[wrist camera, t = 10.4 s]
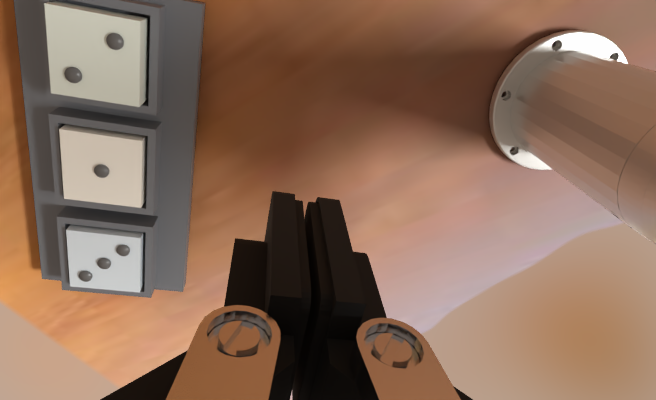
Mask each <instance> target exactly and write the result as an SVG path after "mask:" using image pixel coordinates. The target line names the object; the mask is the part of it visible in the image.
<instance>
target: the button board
mask: <svg viewBox="0 0 656 400" xmlns="http://www.w3.org/2000/svg"><path fill="white" fill-rule="evenodd" d="M55 1H60V2H65V3H70V4H76V5H81V6H86V7H91V8H97V9H102V10H107V11H112V12H118V13H123V14H128V15H133V16H139V17H144V18H148V42H147V95H146V101H145V102H144V103H143V104H142V105H141V106H140V107H135V106H129V105H123V104H116V103H110V102H104V101H97V100H91V99H85V98H78V97H72V96H65V95H59V94H53V93H51V86H50V73H49V60H48V46H47V33H46V19H45V6H44V3H49V2H55ZM14 8H15V17H16V27H17V37H18V47H19V57H20V66H21V76H22V86H23V96H24V106H25V115H26V125H27V135H28V145H29V155H30V165H31V174H32V184H33V194H34V204H35V214H36V223H37V233H38V243H39V253H40V263H41V272H42V279H49V280H60V281H62V290H70V291H81V292H93V293H104V294H115V295H127V296H138V297H149V298H151V296H152V294H153V291H154V289H158V290H169V291H180V292H183V290H184V286H185V283H186V270H187V256H188V242H189V228H190V213H191V199H192V185H193V171H194V157H195V143H196V128H197V114H198V100H199V86H200V72H201V58H202V43H203V29H204V15H205V3H203V2H198V1H193V0H14ZM65 124H70V125H77V126H84V127H90V128H97V129H104V130H111V131H118V132H124V133H131V134H138V135H145V136H148V148H147V195H146V200H145V202H144V204H143V205H142V207H141V208H137V207H129V206H121V205H112V204H104V203H96V202H87V201H79V200H71V199H64V191H63V177H62V162H61V148H60V133H59V129H60V128H61V127H63V126H64V125H65ZM71 224H74V225H83V226H92V227H101V228H110V229H119V230H128V231H136V232H145V233H146V243H145V281H144V284H143V286H142V288H141V291H140V293H138V292H127V291H116V290H104V289H93V288H82V287H71V286H70V279H69V264H68V250H67V235H66V229H67V228H68V227H69V226H70V225H71Z"/></svg>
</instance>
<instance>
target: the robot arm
mask: <svg viewBox="0 0 656 400" xmlns="http://www.w3.org/2000/svg"><path fill="white" fill-rule="evenodd" d="M553 42H554V44H553ZM552 44H553V46H552ZM503 92H504V94H503V95H502V93H503ZM489 122H490V128H491V133H492V136H493V138H494V141H495V143H496V144H497V146H498V147H499V149H500V150H501V151H502V152H503V153H504V154H505V155H506V156H507V157H508V158H509V159H511V160H512V161H514V162H515V163H517V164H518V165H521V166H523V167H526V168H528V169H535V170H554V171H556V172H557V173H558V174H560V175H561V176H562V177H564V178H565V179H566V180H568V181H569V182H570V183H572V184H573V185H574V186H576V187H577V188H578V189H580V190H581V191H582V192H584V193H585V194H586V195H588V196H589V197H590V198H592V199H593V200H595V201H596V202H597V203H599V204H600V205H601V206H603V207H604V208H605V209H607V210H608V211H609V212H611V213H612V214H613V215H615V216H616V217H617V218H619V219H620V220H621V221H623V222H624V223H625V224H627V225H628V226H629V227H631V228H633V229H634V230H635V231H637V232H638V233H639V234H640V235H642V236H643V237H645V238H646V239H648V240H650V241H651V242H653V243H654V244H656V71H652V70H649V69H645V68H642V67H638V66H635V65H631V64H628V62H627V60H626V58H625V56H624V54H623V52H622V51H621V50H620V48H619V47H618V46H617V45H616V44H615V43H614V42H612V41H611V40H609V39H608V38H606V37H605V36H602V35H599V34H596V33H593V32H588V31H583V30H567V31H562V32H558V33H553V34H551V35H548V36H546V37H544V38H541V39H539V40H538V41H536V42H534V43H533V44H531V45H530V46H528V47H527V48H525V49H524V50H523V51H522V52H521V53H520V54H519V55H517V56H516V57H515V58H514V60H513V61H512V62H511V63H510V64H509V65H508V67H507V68H506V69H505V71H504V72H503V74H502V76H501V77H500V79H499V81H498V83H497V85H496V88H495V90H494V92H493V95H492V99H491V104H490V112H489ZM511 148H512V149H511ZM291 391H292V395H293V400H472V399H471V398H470V397H468V396H467V395H465V394H464V393H462V392H461V391H460V390H458V389H456V388H455V387H454V386H453V385H452V384H451V382H450V380H449V378H448V377H447V375H446V373H445V372H444V370H443V368H442V366H441V364H440V363H439V361H438V359H437V358H436V356H435V354H434V352H433V351H432V349H431V347H430V345H429V344H428V342H427V341H426V340H425V338H424V337H423V336H422V335H421V334H420V333H419V332H418V331H417V330H415V329H414V328H413V327H411V326H409V325H407V324H405V323H403V322H401V321H398V320H394V319H390V318H387V317H386V314H385V311H384V307H383V304H382V301H381V298H380V294H379V291H378V288H377V284H376V281H375V278H374V275H373V271H372V268H371V265H370V262H369V258H368V256H367V254H365V253H359V252H353V250H352V246H351V243H350V239H349V235H348V231H347V227H346V223H345V219H344V215H343V211H342V208H341V204H340V201H339V200H335V199H327V198H320V197H318V198H317V199H316V203H314V202H308V205H307V209H306V214H305V219H304V211H303V202H302V201H299V200H295V194H290V193H282V192H275V191H273V192H272V197H271V203H270V210H269V216H268V222H267V229H266V235H265V241H264V242H262V241H253V240H244V239H236V238H235V243H234V249H233V255H232V261H231V268H230V274H229V280H228V286H227V292H226V299H225V305H224V307H222V308H219V309H217V310H214V311H212V312H211V313H210V314H208V315H207V316H205V318H204V319H203V320H202V322H201V323H200V325H199V327H198V329H197V331H196V333H195V336H194V338H193V340H192V342H191V345H190V347H189V349H188V351H186V352H184V353H182V354H181V355H179V356H177V357H175V358H173V359H172V360H170V361H168V362H166V363H165V364H163V365H161V366H159V367H157V368H156V369H154V370H152V371H150V372H149V373H147V374H145V375H143V376H142V377H140V378H138V379H136V380H134V381H133V382H131V383H129V384H127V385H126V386H124V387H122V388H120V389H118V390H117V391H115V392H113V393H111V394H110V395H108V396H106V397H104V398H102V399H101V400H290V396H291Z"/></svg>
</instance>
